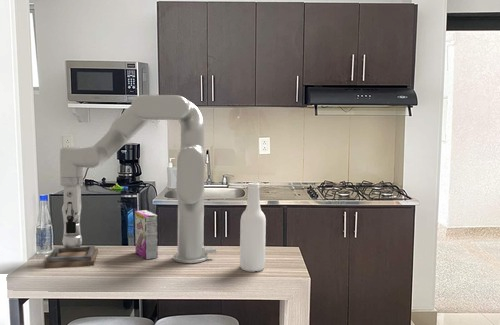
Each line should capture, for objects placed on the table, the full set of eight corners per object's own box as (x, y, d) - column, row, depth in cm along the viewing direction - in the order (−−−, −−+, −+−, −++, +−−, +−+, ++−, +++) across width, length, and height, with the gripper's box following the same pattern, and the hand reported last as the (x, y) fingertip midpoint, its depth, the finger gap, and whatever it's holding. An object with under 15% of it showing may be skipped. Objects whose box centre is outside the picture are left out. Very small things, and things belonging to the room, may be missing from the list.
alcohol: (263, 273, 156) (265, 185, 153) (237, 271, 157) (239, 184, 154) (266, 265, 164) (267, 182, 162) (241, 263, 166) (243, 181, 163)
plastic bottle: (75, 251, 162) (74, 195, 161) (58, 249, 164) (57, 194, 162) (85, 246, 169) (85, 192, 167) (69, 245, 170) (68, 191, 168)
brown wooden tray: (97, 252, 176) (97, 244, 176) (93, 265, 161) (93, 256, 160) (53, 254, 173) (53, 246, 172) (44, 267, 157) (44, 259, 157)
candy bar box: (134, 252, 177) (134, 210, 175) (146, 251, 180) (146, 209, 178) (145, 260, 168) (145, 216, 166) (158, 258, 170) (158, 214, 169)
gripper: (79, 184, 157) (80, 236, 158) (85, 178, 173) (86, 225, 175) (56, 184, 155) (57, 237, 157) (64, 178, 172) (65, 226, 173)
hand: (72, 230), depth 166 cm, fingers closed on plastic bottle, 5 cm apart
